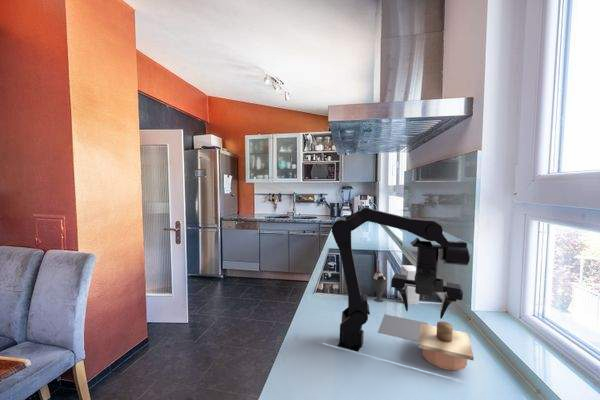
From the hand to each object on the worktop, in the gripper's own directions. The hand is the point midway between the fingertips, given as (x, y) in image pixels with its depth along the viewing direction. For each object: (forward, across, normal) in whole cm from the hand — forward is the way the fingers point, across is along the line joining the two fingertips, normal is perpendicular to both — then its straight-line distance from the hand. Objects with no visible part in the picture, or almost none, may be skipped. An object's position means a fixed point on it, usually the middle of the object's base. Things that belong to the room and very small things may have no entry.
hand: (423, 314), depth 83 cm
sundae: (+12, -18, +33) cm, 39 cm away
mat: (+12, -6, +13) cm, 18 cm away
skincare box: (+12, -6, +39) cm, 41 cm away
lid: (+7, +6, 0) cm, 9 cm away
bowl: (+12, +6, 0) cm, 13 cm away
